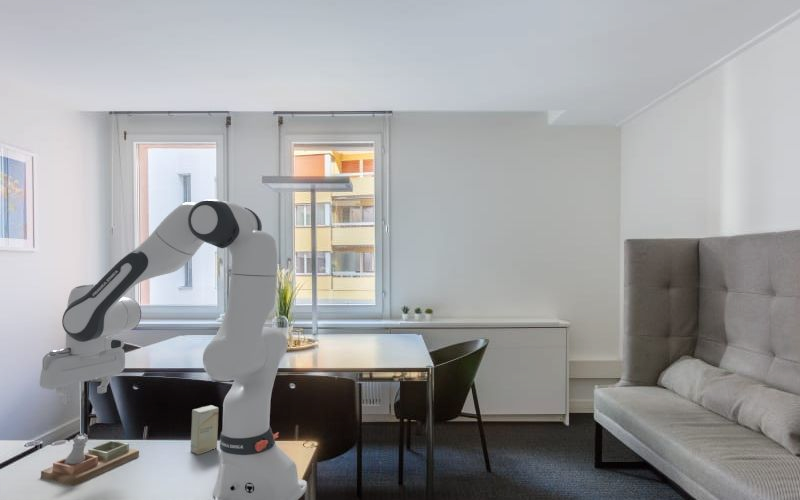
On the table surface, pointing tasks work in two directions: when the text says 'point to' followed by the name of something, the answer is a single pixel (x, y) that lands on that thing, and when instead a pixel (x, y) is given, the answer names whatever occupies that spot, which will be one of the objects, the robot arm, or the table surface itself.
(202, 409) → the skincare box
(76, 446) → the rook chess piece
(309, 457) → the table surface
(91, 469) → the board
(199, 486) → the table surface
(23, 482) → the table surface
